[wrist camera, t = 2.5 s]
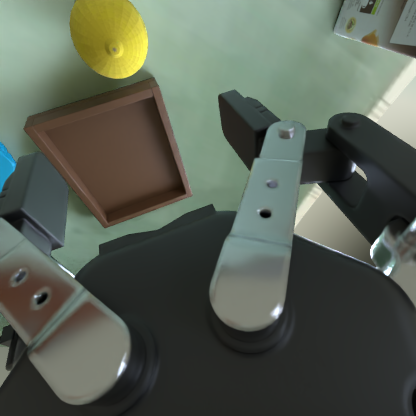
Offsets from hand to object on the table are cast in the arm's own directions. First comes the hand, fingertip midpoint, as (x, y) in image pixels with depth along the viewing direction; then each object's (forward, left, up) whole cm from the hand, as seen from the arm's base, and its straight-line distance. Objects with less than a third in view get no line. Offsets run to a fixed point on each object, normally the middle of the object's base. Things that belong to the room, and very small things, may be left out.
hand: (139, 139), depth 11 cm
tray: (-4, -11, -17) cm, 21 cm away
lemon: (0, +2, -18) cm, 18 cm away
